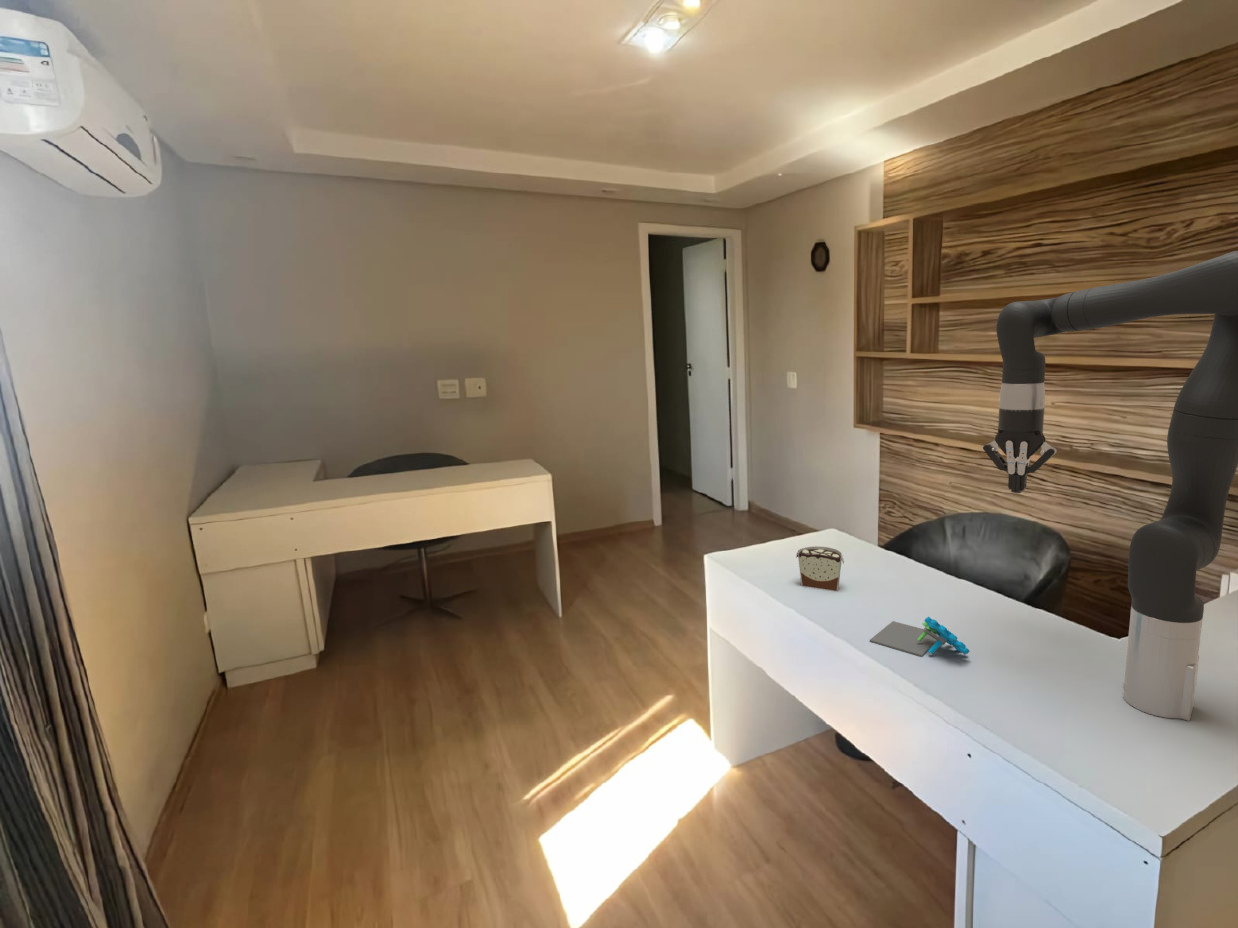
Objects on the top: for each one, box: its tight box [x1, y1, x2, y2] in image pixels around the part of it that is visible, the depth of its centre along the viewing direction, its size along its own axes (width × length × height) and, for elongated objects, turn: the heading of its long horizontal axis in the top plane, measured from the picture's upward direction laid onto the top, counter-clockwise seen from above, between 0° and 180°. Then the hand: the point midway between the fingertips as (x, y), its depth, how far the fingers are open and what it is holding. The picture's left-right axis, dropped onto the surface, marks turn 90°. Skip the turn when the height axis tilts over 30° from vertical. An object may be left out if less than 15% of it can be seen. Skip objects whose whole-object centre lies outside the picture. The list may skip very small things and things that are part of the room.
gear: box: [917, 616, 971, 655], centre depth 133 cm, size 11×6×10 cm
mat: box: [869, 620, 939, 658], centre depth 140 cm, size 11×12×1 cm
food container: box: [795, 545, 845, 593], centre depth 171 cm, size 12×6×10 cm, turn 58°
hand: (1016, 492), depth 129 cm, fingers closed
